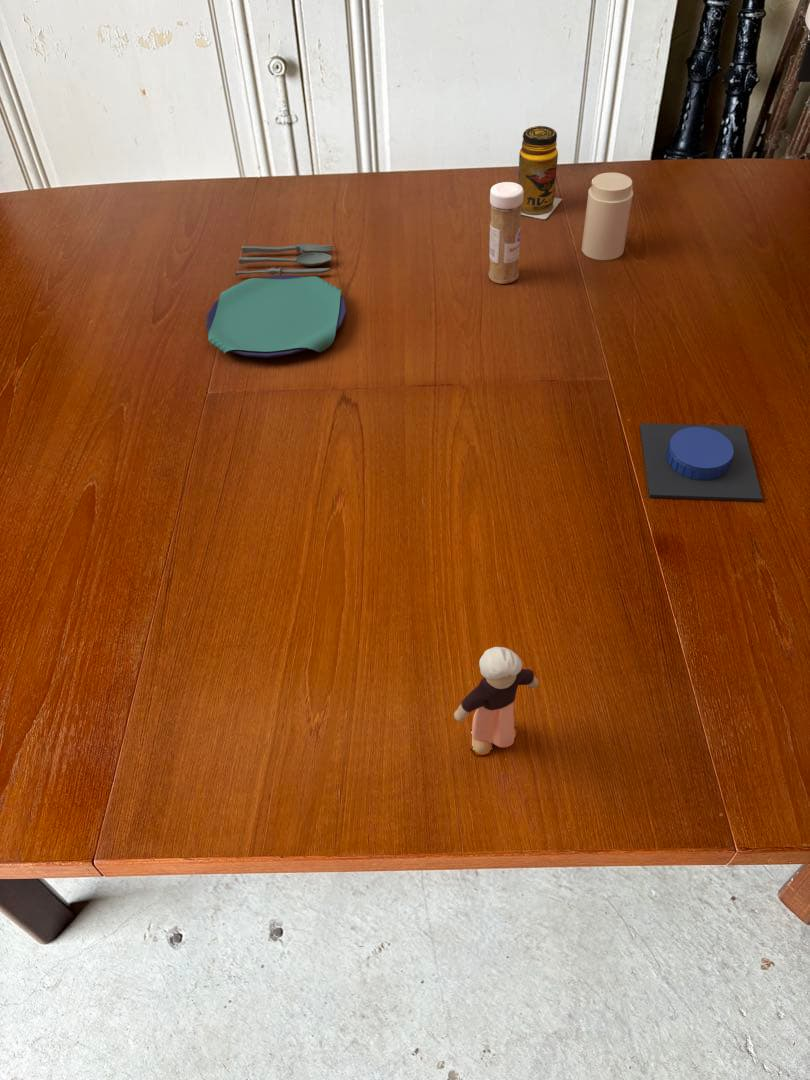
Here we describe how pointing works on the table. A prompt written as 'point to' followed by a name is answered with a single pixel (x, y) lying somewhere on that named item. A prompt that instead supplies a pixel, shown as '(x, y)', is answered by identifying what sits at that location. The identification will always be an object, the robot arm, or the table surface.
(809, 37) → the robot arm
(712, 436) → the lid
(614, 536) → the table surface
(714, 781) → the table surface
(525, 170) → the condiment
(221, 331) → the cutlery set
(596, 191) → the jar
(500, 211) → the spice bottle
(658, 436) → the mat
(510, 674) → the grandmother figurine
